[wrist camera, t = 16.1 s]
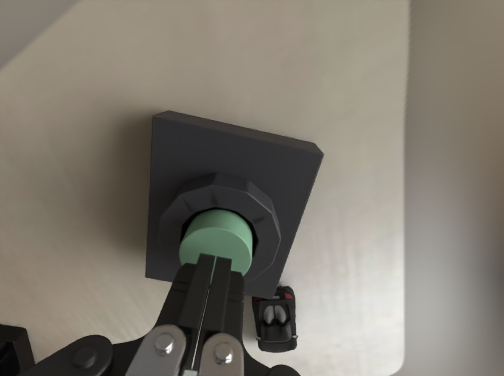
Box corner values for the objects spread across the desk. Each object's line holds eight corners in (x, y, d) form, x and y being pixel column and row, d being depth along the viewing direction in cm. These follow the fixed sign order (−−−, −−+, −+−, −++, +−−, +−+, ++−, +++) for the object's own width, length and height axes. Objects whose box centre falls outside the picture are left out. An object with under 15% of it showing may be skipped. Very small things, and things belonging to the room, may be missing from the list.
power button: (191, 202, 13) (182, 220, 11) (258, 216, 13) (259, 235, 11) (184, 255, 14) (175, 278, 13) (245, 266, 14) (243, 290, 13)
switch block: (167, 109, 14) (137, 121, 11) (315, 143, 15) (334, 165, 11) (157, 255, 19) (133, 298, 15) (271, 276, 19) (274, 322, 16)
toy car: (296, 341, 23) (299, 366, 21) (259, 343, 23) (259, 368, 21) (293, 277, 19) (297, 299, 18) (250, 280, 20) (249, 302, 18)
